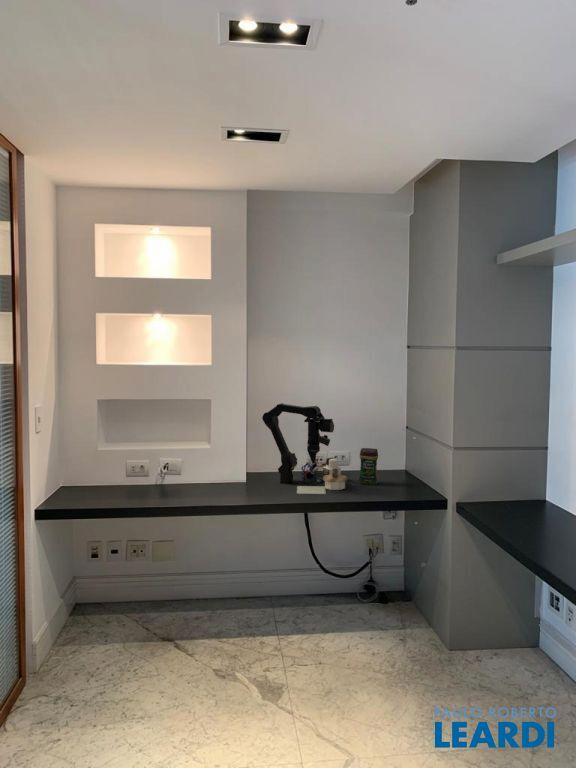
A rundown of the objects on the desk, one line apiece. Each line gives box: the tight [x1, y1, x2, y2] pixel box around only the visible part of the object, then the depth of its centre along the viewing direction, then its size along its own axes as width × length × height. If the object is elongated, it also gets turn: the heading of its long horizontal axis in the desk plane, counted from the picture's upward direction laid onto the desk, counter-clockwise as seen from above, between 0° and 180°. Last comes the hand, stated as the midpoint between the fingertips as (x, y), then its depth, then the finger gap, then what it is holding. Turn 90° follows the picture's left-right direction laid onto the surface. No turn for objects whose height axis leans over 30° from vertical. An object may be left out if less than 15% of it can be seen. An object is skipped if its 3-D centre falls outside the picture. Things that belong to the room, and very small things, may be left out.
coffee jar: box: [358, 447, 379, 486], centre depth 302 cm, size 10×8×19 cm
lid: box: [322, 469, 348, 482], centre depth 292 cm, size 12×12×5 cm
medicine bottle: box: [322, 457, 342, 477], centre depth 308 cm, size 7×7×12 cm
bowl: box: [324, 481, 346, 491], centre depth 292 cm, size 10×10×4 cm
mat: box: [296, 485, 327, 495], centre depth 287 cm, size 14×14×1 cm
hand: (313, 461), depth 295 cm, fingers open, 9 cm apart
